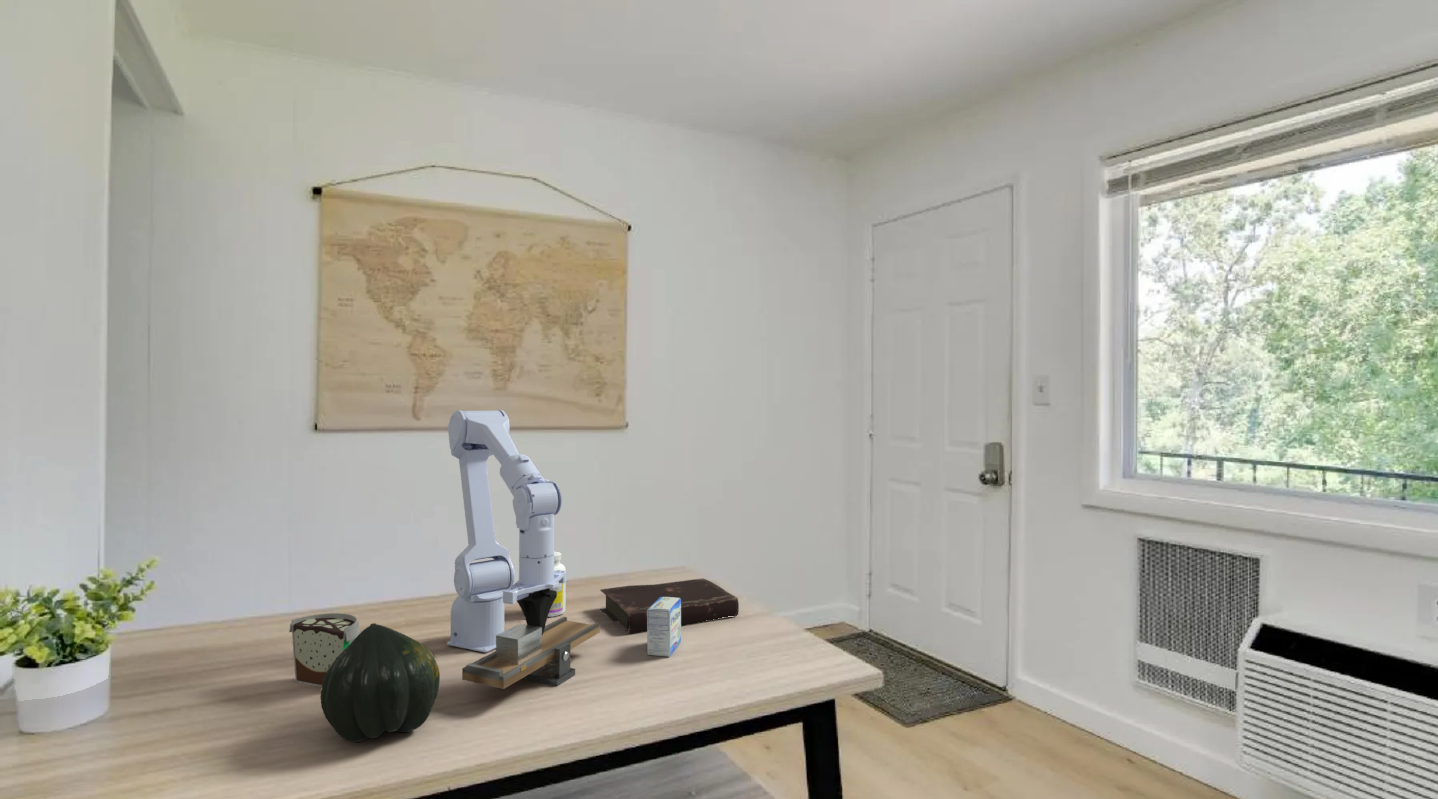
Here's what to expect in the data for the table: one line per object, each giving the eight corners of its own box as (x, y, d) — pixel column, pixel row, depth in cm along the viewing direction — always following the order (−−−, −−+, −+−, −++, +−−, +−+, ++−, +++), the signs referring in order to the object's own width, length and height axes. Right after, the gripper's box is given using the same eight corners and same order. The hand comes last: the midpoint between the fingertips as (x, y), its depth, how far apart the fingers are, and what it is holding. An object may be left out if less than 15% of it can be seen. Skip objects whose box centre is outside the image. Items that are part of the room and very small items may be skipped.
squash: (422, 717, 91) (434, 607, 100) (295, 732, 87) (319, 617, 97) (440, 748, 101) (449, 646, 111) (327, 762, 98) (346, 656, 108)
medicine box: (670, 657, 126) (670, 610, 126) (646, 655, 127) (646, 608, 127) (681, 642, 134) (681, 597, 134) (658, 640, 135) (659, 595, 135)
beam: (461, 679, 108) (461, 664, 108) (563, 626, 132) (563, 613, 132) (504, 689, 104) (504, 673, 104) (600, 632, 128) (600, 619, 128)
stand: (498, 673, 118) (498, 640, 118) (517, 663, 123) (518, 631, 123) (557, 686, 113) (557, 651, 113) (575, 674, 118) (575, 641, 118)
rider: (495, 660, 112) (495, 635, 112) (520, 647, 118) (520, 623, 118) (518, 664, 111) (518, 639, 110) (541, 651, 116) (541, 627, 116)
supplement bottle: (542, 607, 154) (542, 549, 154) (570, 609, 153) (571, 551, 153) (528, 616, 148) (528, 556, 148) (557, 619, 146) (558, 558, 146)
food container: (377, 677, 116) (378, 617, 116) (347, 692, 110) (347, 628, 110) (321, 666, 120) (321, 608, 120) (288, 680, 114) (289, 619, 114)
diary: (739, 620, 149) (739, 597, 149) (629, 639, 138) (629, 613, 137) (700, 596, 166) (700, 575, 166) (598, 610, 154) (599, 588, 154)
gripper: (528, 566, 109) (527, 653, 109) (581, 548, 123) (580, 625, 123) (492, 562, 112) (491, 646, 112) (548, 544, 125) (547, 619, 126)
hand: (536, 635), depth 118 cm, fingers closed
